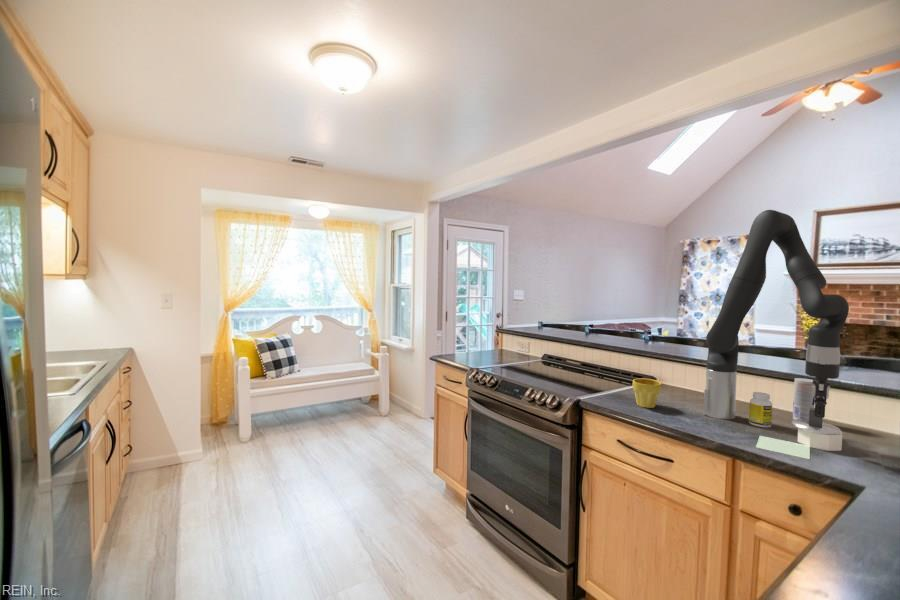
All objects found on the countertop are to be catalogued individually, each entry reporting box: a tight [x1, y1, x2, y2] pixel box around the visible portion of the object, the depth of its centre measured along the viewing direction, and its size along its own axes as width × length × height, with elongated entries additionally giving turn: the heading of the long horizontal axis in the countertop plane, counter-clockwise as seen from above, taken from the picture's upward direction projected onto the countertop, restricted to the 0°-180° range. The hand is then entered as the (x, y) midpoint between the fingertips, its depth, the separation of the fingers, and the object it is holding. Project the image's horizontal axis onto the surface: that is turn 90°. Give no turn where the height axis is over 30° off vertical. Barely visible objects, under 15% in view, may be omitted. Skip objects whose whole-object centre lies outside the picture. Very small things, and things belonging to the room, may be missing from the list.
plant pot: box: [632, 377, 662, 409], centre depth 161 cm, size 10×10×10 cm
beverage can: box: [792, 377, 815, 420], centre depth 143 cm, size 6×6×15 cm
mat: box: [755, 435, 811, 460], centre depth 121 cm, size 12×12×1 cm
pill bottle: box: [748, 391, 773, 428], centre depth 139 cm, size 6×6×11 cm
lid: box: [791, 407, 841, 435], centre depth 123 cm, size 11×11×6 cm
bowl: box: [796, 428, 843, 452], centre depth 122 cm, size 10×10×5 cm
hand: (819, 413), depth 122 cm, fingers open, 8 cm apart
